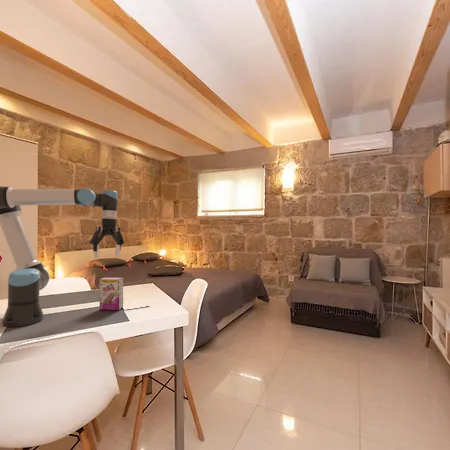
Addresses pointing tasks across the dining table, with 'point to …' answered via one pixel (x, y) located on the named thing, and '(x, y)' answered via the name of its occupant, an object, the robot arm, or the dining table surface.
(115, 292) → the candy bar box
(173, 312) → the dining table surface
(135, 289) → the dining table surface
